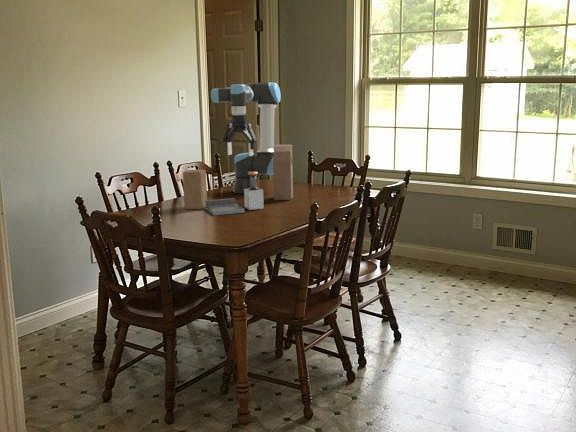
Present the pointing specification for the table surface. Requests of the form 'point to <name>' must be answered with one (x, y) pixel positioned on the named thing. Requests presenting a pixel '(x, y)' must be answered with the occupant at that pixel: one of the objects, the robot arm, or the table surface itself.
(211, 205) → the press bed
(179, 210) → the table surface
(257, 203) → the pin housing
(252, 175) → the press pin
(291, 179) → the decorative block
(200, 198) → the wooden block
